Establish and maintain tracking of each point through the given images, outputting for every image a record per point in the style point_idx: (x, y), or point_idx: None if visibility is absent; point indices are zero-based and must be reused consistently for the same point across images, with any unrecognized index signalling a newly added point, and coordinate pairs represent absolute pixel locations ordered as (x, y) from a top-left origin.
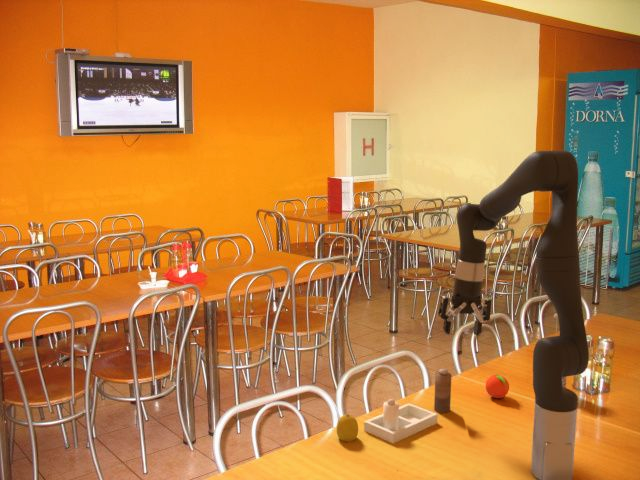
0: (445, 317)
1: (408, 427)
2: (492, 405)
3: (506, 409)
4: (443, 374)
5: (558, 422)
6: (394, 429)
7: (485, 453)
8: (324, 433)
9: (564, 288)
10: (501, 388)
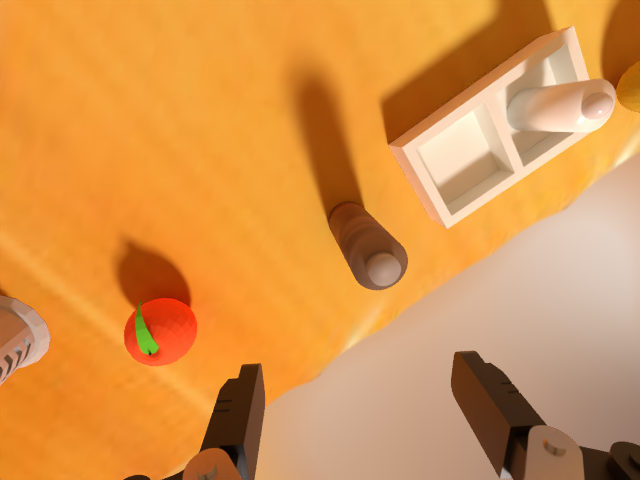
0: (593, 467)
1: (513, 67)
2: (198, 266)
3: (166, 240)
4: (387, 252)
5: None
6: (533, 88)
7: None
8: (637, 150)
9: None
10: (155, 306)
